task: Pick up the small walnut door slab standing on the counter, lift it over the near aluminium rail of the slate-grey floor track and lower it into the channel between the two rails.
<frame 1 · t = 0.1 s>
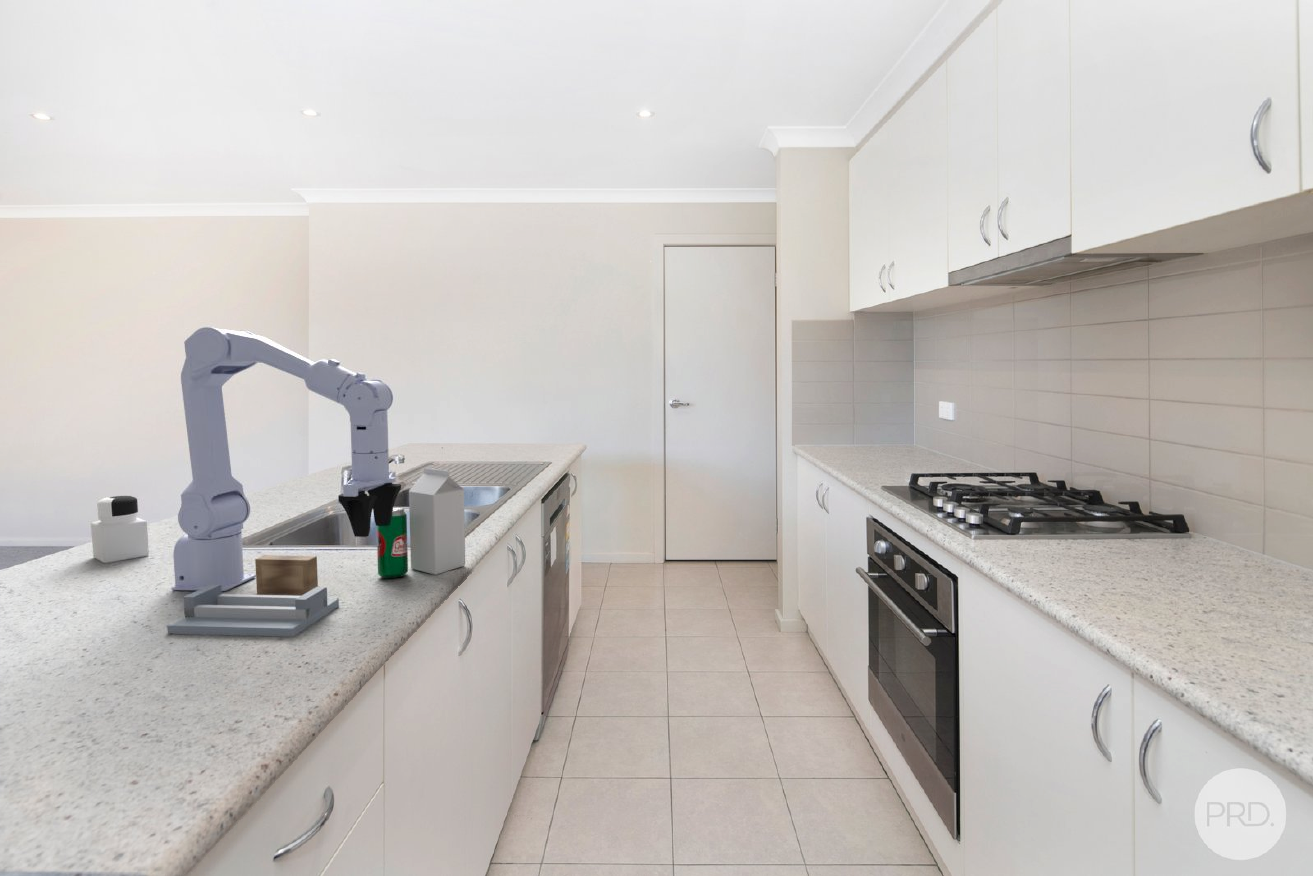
hand: (372, 530, 108), 10 cm above the countertop, tool pointing down, fingers open, 7 cm apart
floor track: (258, 619, 94), on the countertop
medicine bottle: (121, 557, 126), on the countertop
milk carton: (438, 568, 121), on the countertop
soda can: (393, 576, 115), on the countertop
door slab: (287, 592, 107), on the countertop
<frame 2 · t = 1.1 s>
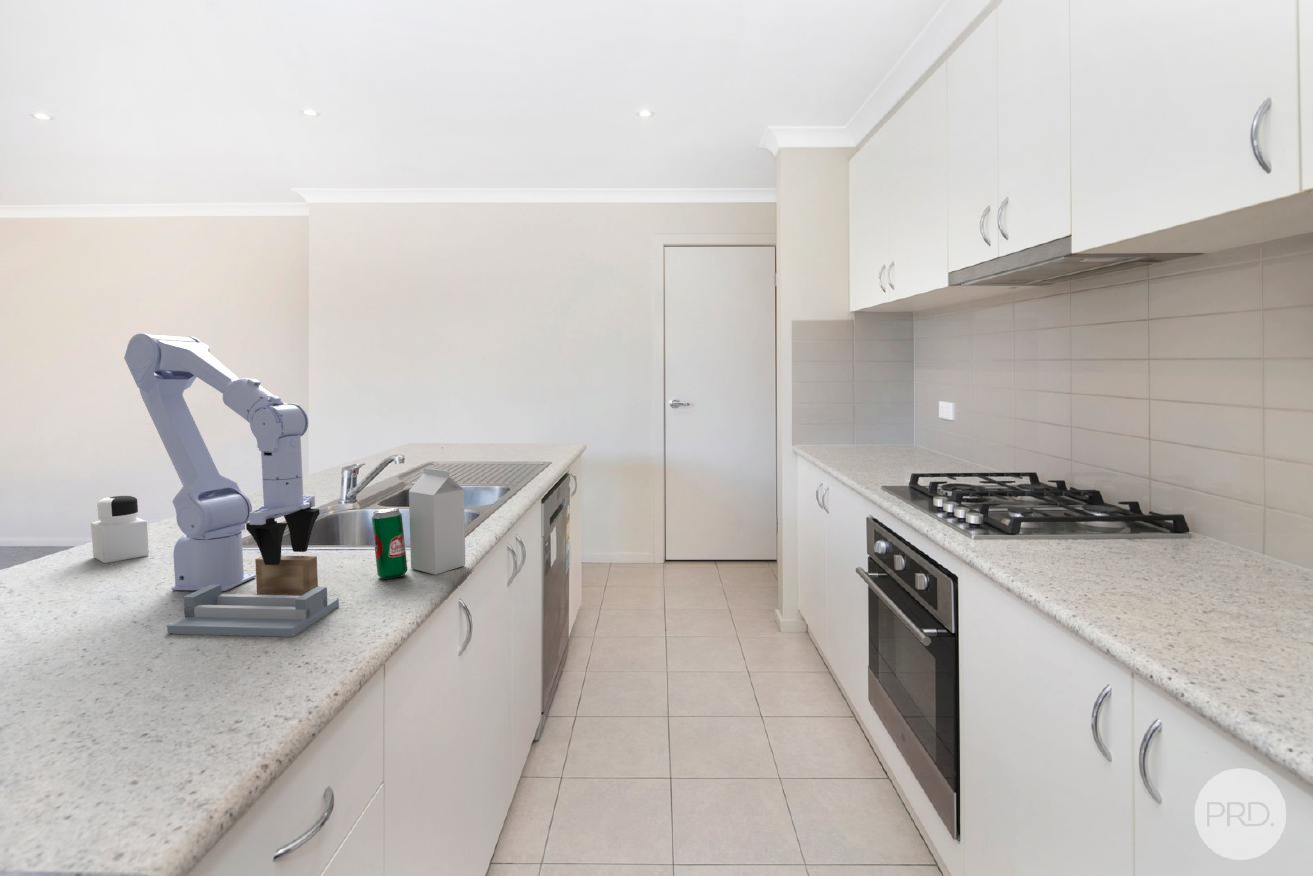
hand: (286, 557, 106), 6 cm above the countertop, tool pointing down, fingers open, 7 cm apart
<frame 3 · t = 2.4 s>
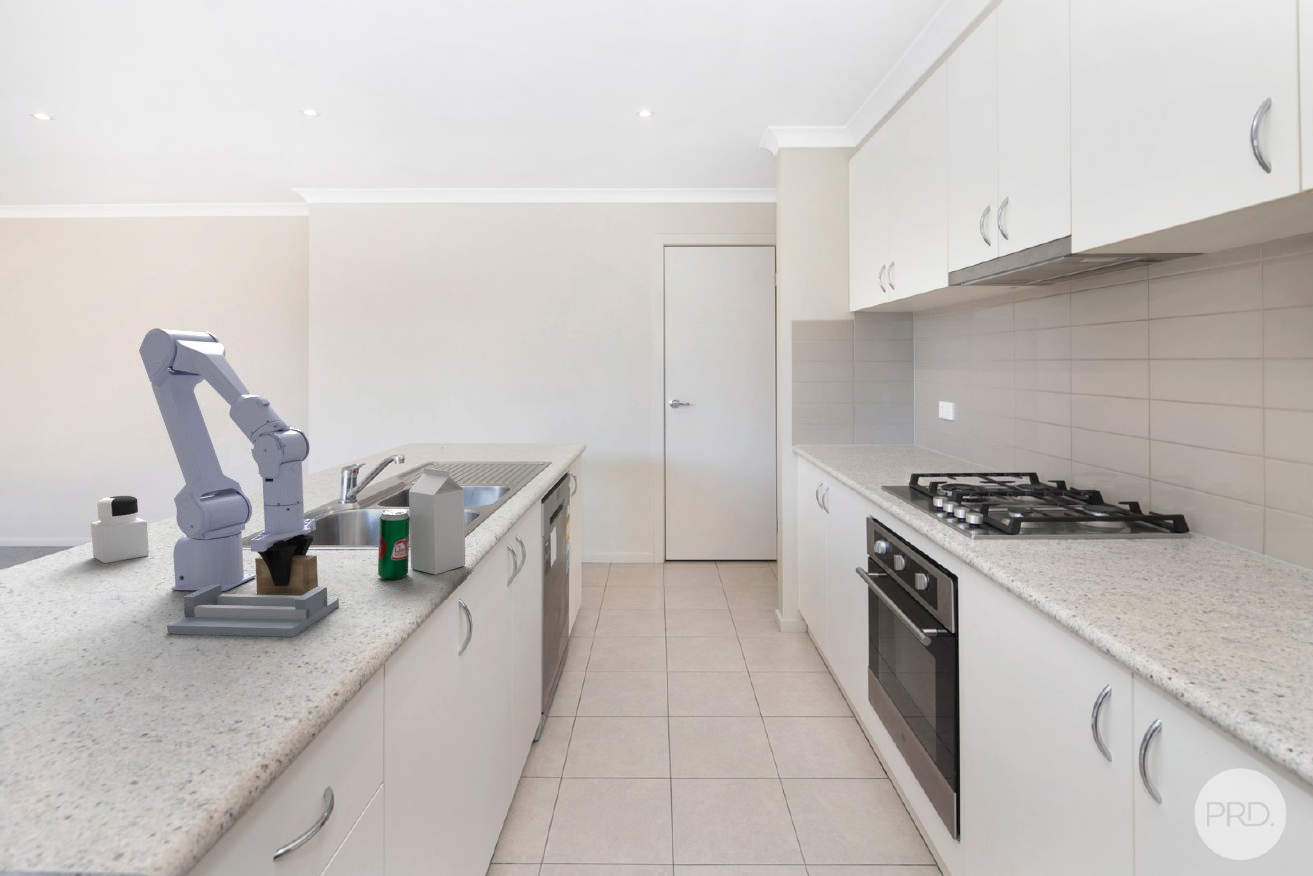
hand: (287, 582, 106), 2 cm above the countertop, tool pointing down, fingers closed on door slab, 2 cm apart
door slab: (287, 591, 107), on the countertop, touching gripper
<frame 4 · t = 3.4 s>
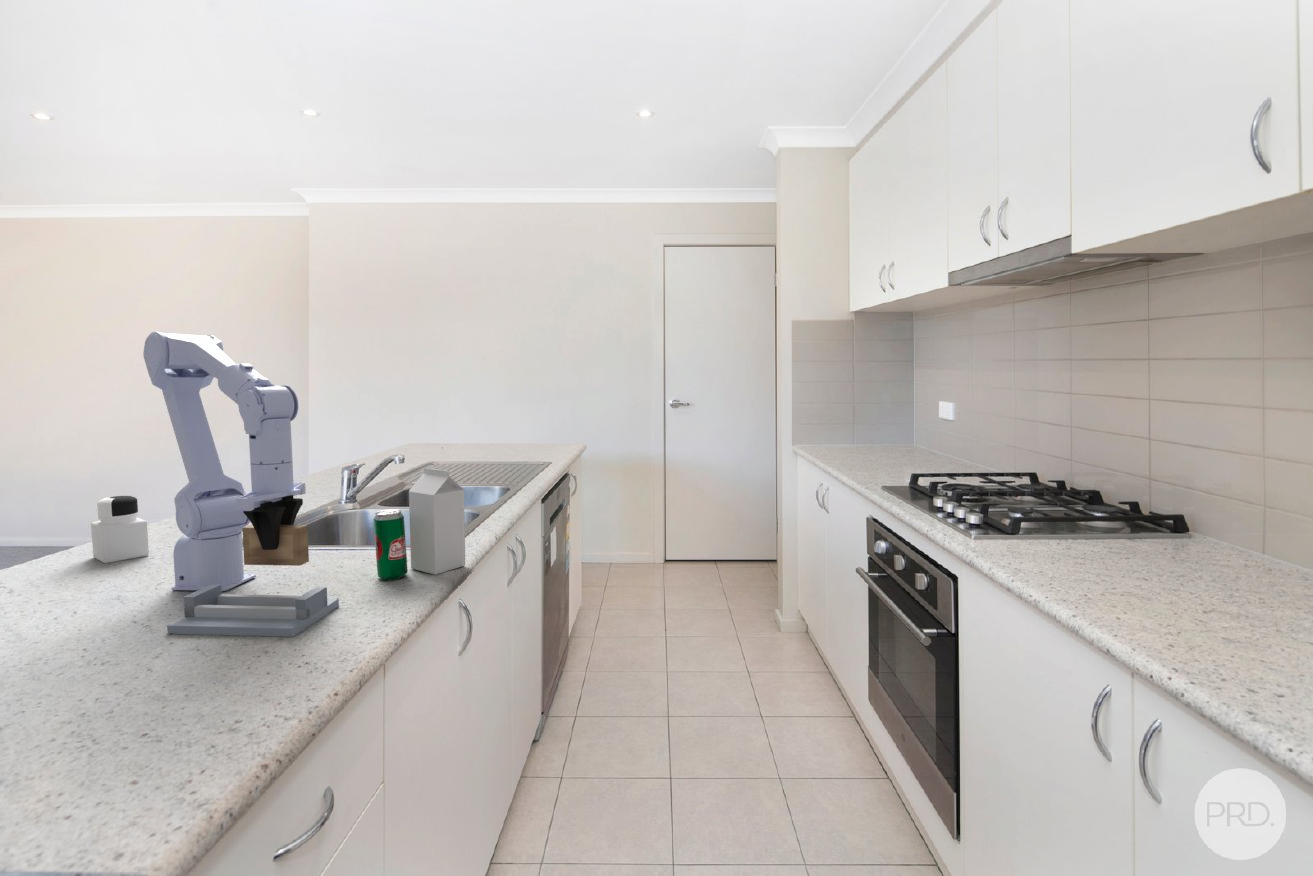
hand: (276, 546, 101), 9 cm above the countertop, tool pointing down, fingers closed on door slab, 2 cm apart
door slab: (276, 563, 101), point 6 cm above the countertop, touching gripper
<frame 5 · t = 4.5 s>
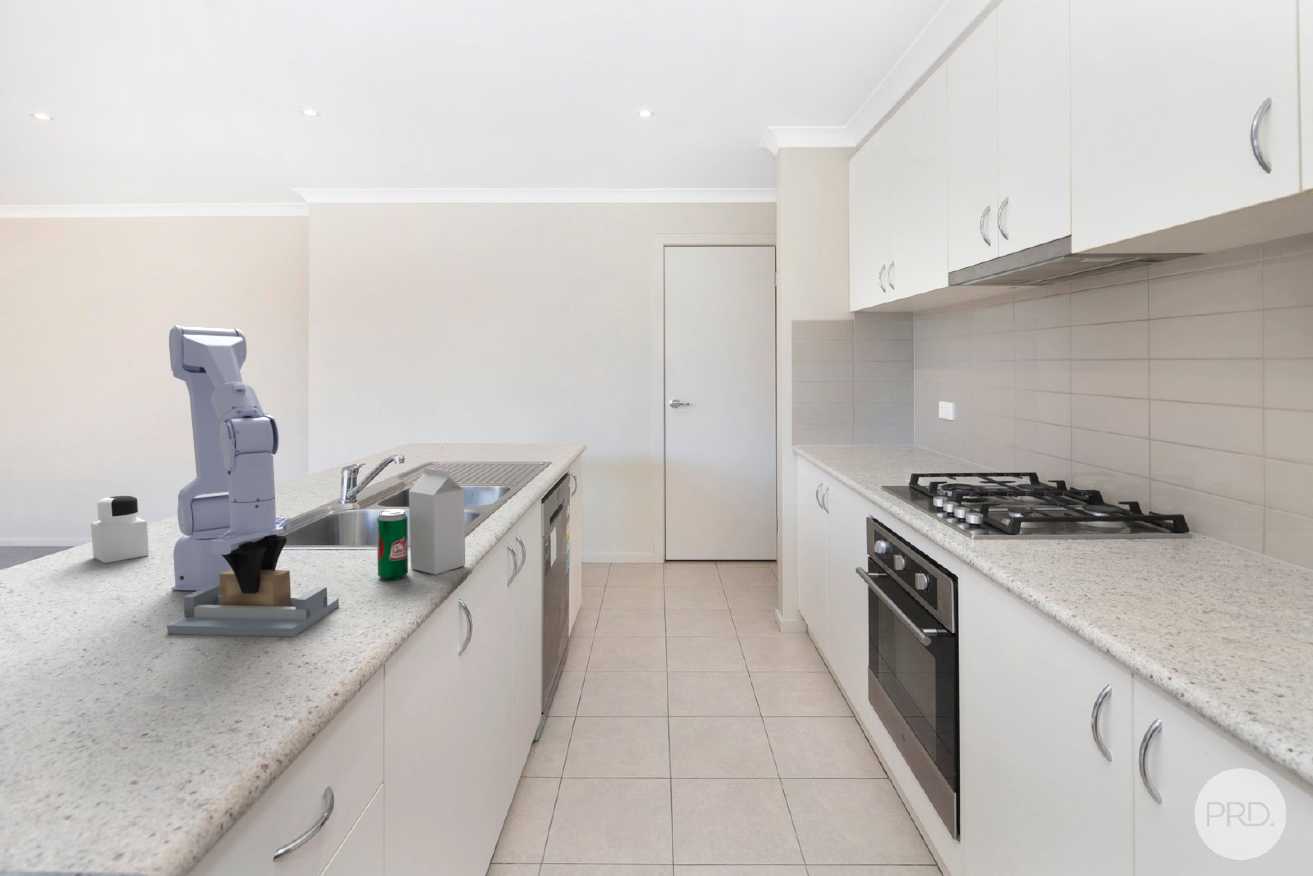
hand: (256, 589, 94), 5 cm above the countertop, tool pointing down, fingers closed on door slab, 2 cm apart
door slab: (256, 611, 94), point 1 cm above the countertop, touching floor track, gripper
everything else where it was.
when the fingers open (4 cm above the countertop, at t = 4.9 s): door slab stays where it is, resting on floor track.
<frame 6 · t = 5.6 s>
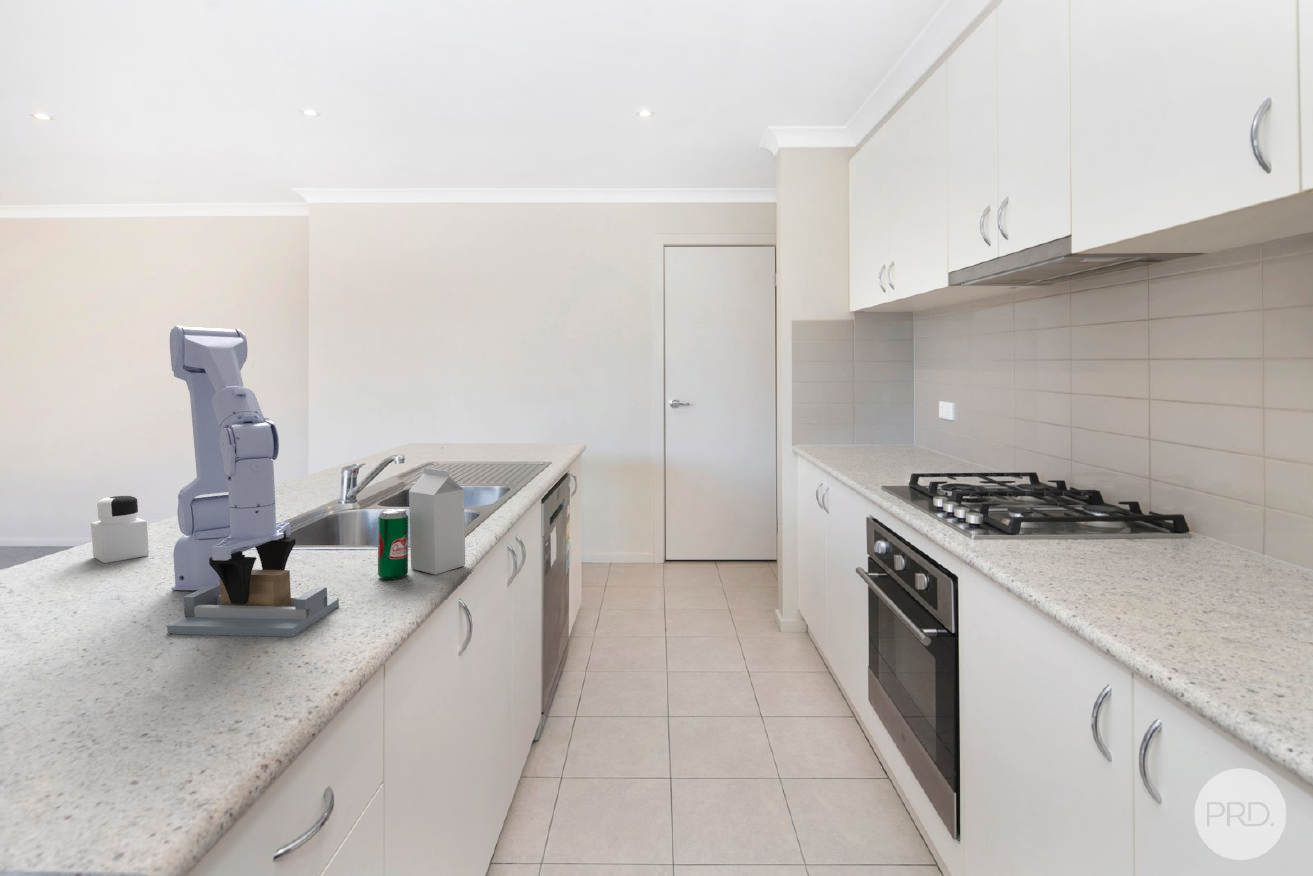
hand: (257, 594, 94), 4 cm above the countertop, tool pointing down, fingers open, 7 cm apart
door slab: (256, 611, 94), point 1 cm above the countertop, touching floor track
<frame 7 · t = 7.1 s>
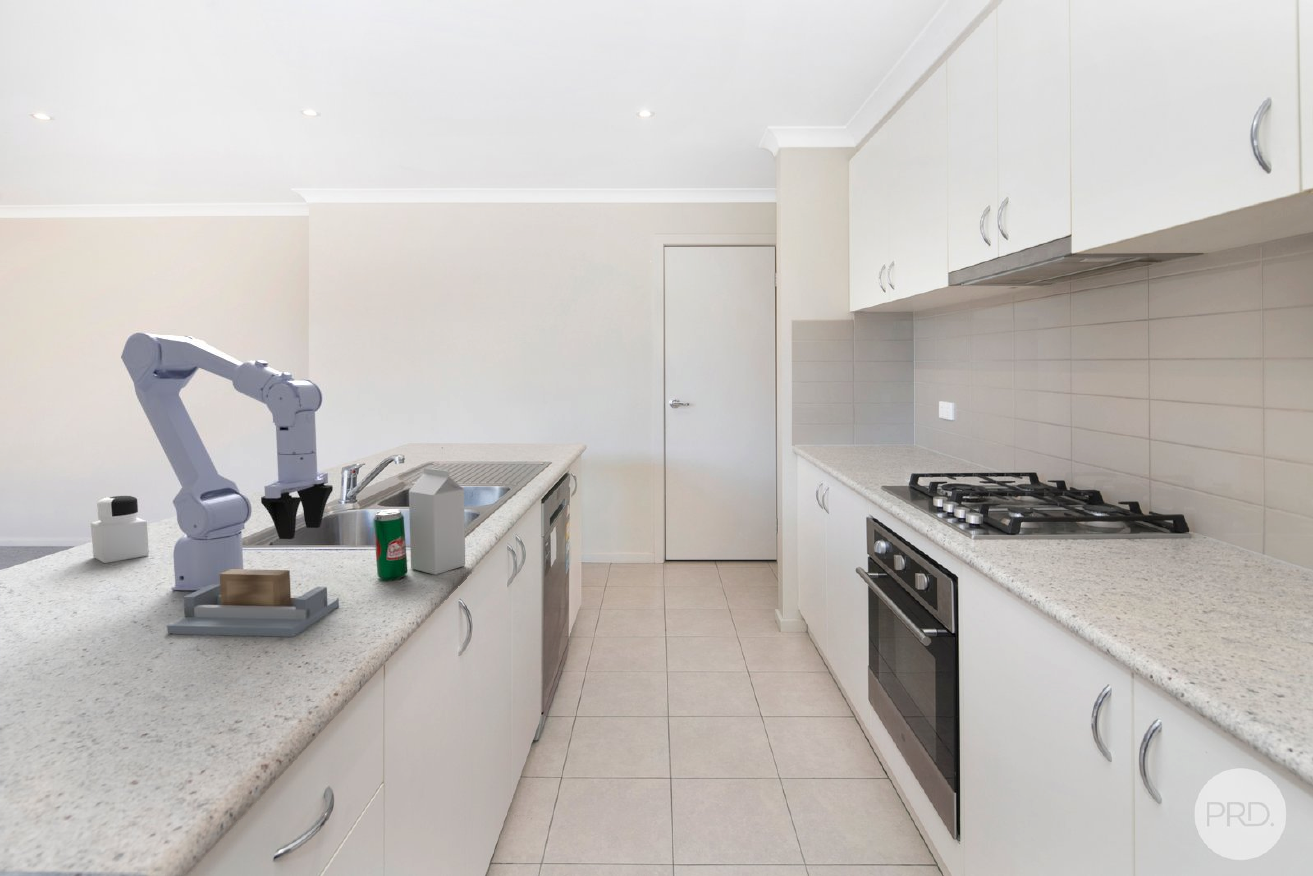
hand: (300, 532, 106), 10 cm above the countertop, tool pointing down, fingers open, 7 cm apart
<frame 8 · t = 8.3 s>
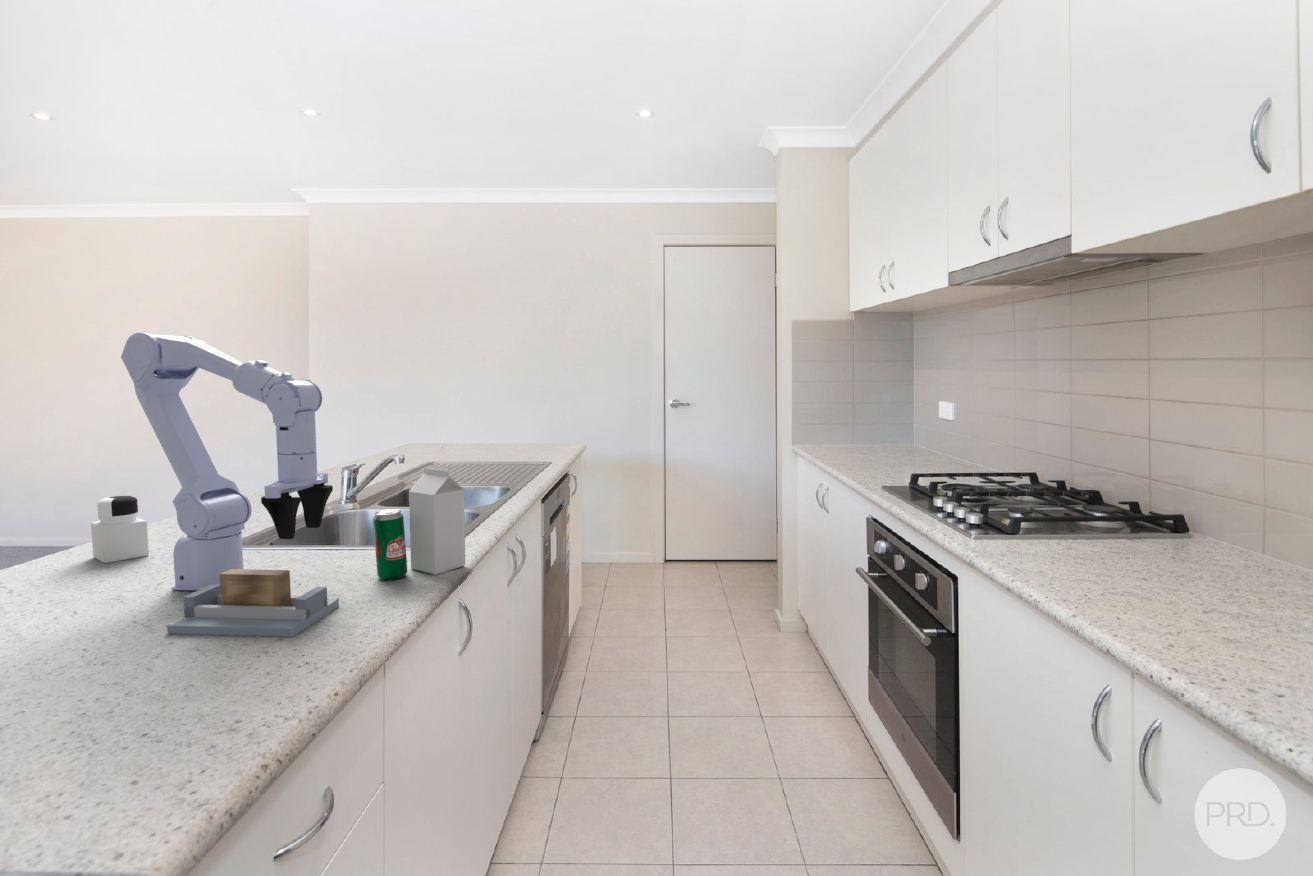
hand: (300, 532, 106), 10 cm above the countertop, tool pointing down, fingers open, 7 cm apart
nothing on the countertop moved.
at the end: door slab inside the target area on the floor track (0.2 cm from its centre), point 1.2 cm above the floor track's base; door slab tilted 0°; the gripper is holding nothing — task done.
